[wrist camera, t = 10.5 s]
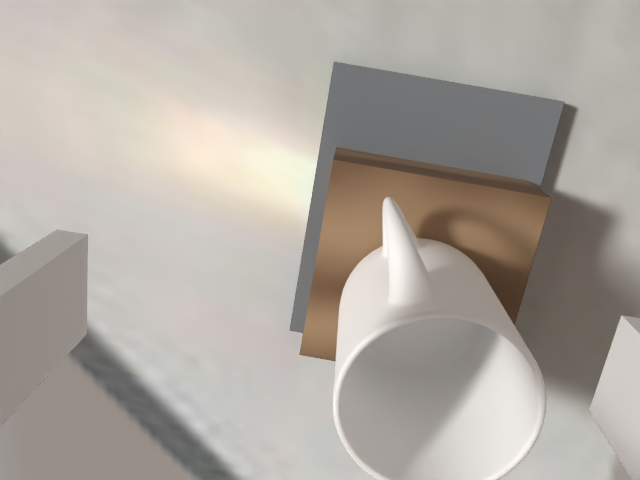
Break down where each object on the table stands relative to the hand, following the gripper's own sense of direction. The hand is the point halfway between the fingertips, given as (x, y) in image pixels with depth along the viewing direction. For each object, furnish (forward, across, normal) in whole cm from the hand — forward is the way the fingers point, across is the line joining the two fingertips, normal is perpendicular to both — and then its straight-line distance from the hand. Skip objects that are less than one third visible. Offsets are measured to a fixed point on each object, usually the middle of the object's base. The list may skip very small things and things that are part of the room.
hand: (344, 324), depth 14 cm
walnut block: (+23, +5, -6) cm, 24 cm away
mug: (+18, +4, -6) cm, 20 cm away
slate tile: (+24, +5, -4) cm, 25 cm away
